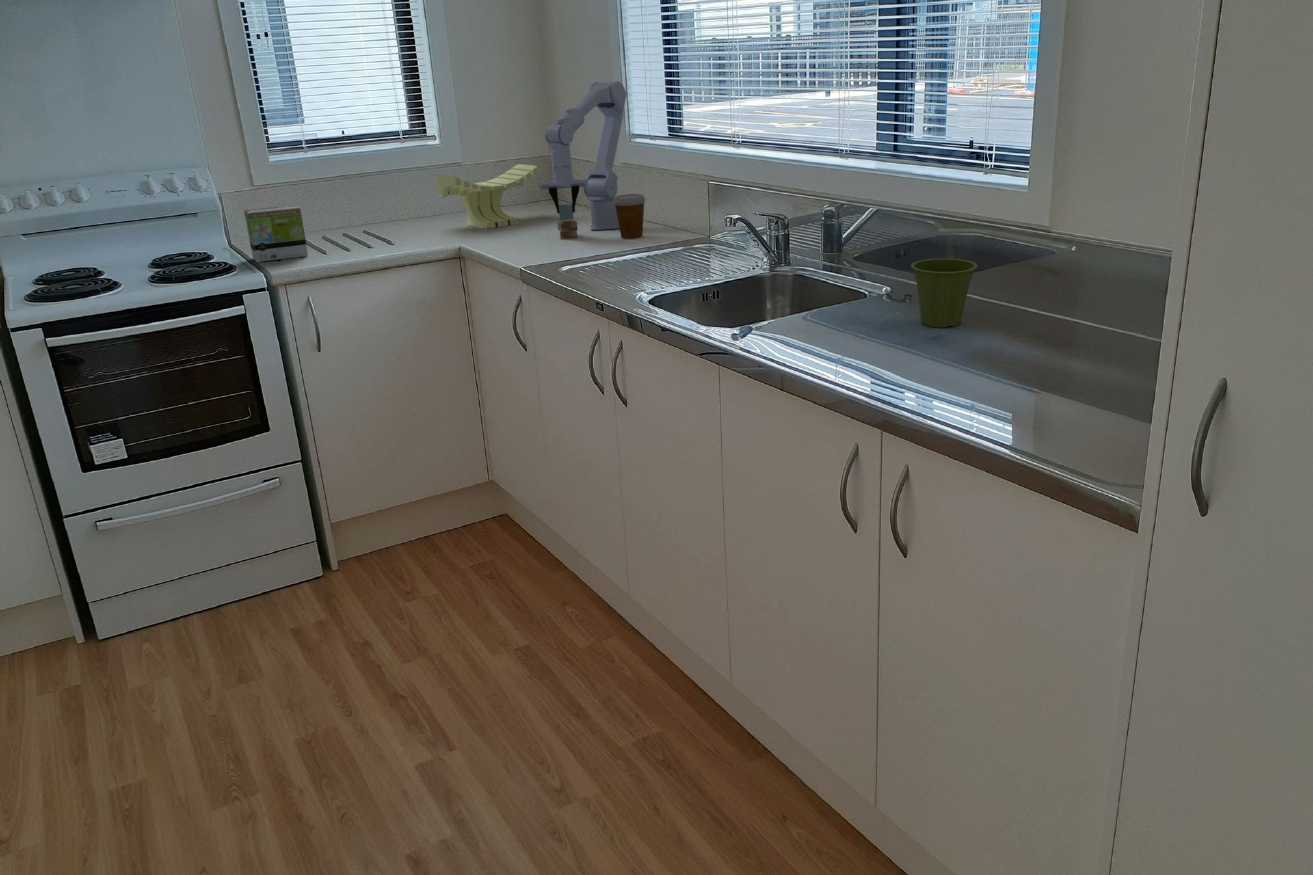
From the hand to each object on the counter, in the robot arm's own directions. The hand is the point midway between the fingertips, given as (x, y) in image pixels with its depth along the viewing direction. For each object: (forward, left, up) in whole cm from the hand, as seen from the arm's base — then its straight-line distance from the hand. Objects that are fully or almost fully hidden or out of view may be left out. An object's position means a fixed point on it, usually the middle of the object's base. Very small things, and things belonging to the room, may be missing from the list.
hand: (566, 212), depth 306 cm
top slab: (0, 0, -5) cm, 5 cm away
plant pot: (-72, +128, -8) cm, 147 cm away
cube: (0, 0, -2) cm, 2 cm away
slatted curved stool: (+26, -38, -8) cm, 47 cm away
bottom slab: (0, 0, -8) cm, 8 cm away
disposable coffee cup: (-19, +8, -8) cm, 22 cm away
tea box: (+87, -2, -8) cm, 87 cm away
